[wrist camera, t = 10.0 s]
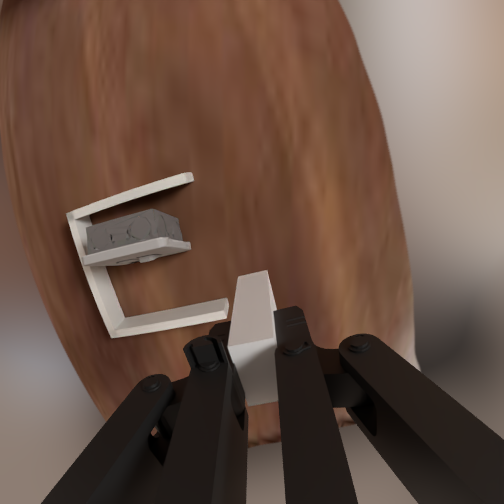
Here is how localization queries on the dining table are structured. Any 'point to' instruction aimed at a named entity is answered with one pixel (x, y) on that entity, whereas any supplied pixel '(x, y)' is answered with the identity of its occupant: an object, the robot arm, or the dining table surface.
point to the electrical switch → (134, 239)
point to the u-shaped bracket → (103, 285)
